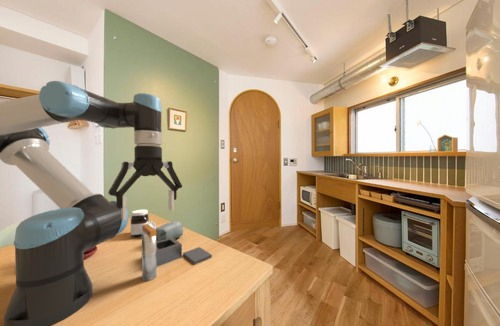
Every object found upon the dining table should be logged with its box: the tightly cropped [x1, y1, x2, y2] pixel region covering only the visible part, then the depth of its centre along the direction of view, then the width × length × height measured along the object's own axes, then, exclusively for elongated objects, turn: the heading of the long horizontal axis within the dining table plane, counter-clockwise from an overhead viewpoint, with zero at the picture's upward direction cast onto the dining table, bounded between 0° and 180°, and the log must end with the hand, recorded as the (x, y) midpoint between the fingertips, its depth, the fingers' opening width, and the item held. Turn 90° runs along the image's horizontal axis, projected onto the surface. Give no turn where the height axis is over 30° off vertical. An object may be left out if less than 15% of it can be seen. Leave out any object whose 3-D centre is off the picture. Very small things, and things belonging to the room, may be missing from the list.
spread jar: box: [130, 209, 158, 238], centre depth 93 cm, size 12×11×12 cm
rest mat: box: [182, 246, 213, 265], centre depth 72 cm, size 7×9×1 cm
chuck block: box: [156, 237, 183, 267], centre depth 71 cm, size 9×9×5 cm
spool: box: [155, 220, 184, 242], centre depth 86 cm, size 14×10×10 cm
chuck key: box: [141, 224, 158, 282], centre depth 59 cm, size 4×8×16 cm, turn 44°
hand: (149, 214), depth 59 cm, fingers open, 13 cm apart
